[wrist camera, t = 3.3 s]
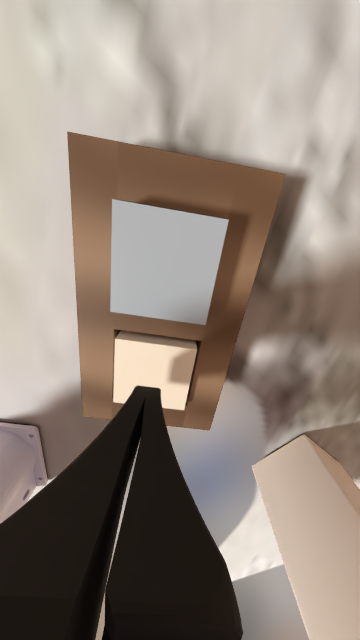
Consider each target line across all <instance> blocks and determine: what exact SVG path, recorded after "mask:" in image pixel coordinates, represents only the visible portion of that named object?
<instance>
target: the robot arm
mask: <svg viewBox="0 0 360 640" xmlns="http://www.w3.org/2000/svg"><path fill="white" fill-rule="evenodd" d="M140 437H141V439H140ZM139 441H140V445H139ZM138 445H139V449H138V454H137V458H136V462H135V467H134V471H133V476H132V480H131V485H130V489H129V493H128V498H127V502H126V506H125V510H124V515H123V519H122V523H121V528H120V532H119V536H118V540H117V544H116V548H115V553H114V557H113V561H112V565H111V569H110V573H109V568H110V563H111V558H112V553H113V548H114V543H115V538H116V533H117V528H118V524H119V519H120V514H121V509H122V505H123V500H124V495H125V491H126V487H127V483H128V480H129V476H130V473H131V469H132V466H133V462H134V458H135V455H136V452H137V448H138ZM47 482H48V480H47V474H46V469H45V463H44V458H43V452H42V447H41V441H40V435H39V430H38V428H37V427H35V426H30V425H20V424H10V423H1V422H0V640H95V638H96V632H97V628H98V623H99V618H100V613H101V607H102V602H103V597H104V593H105V626H104V631H103V636H102V640H241V638H242V635H243V630H242V625H241V618H240V613H239V609H238V604H237V600H236V596H235V592H234V589H233V585H232V582H231V578H230V575H229V572H228V569H227V565H226V562H225V560H224V558H223V556H222V554H221V553H220V551H219V549H218V547H217V545H216V543H215V542H214V540H213V538H212V536H211V534H210V532H209V530H208V528H207V526H206V525H205V523H204V520H203V519H202V517H201V514H200V513H199V510H198V508H197V506H196V504H195V502H194V500H193V497H192V495H191V493H190V491H189V488H188V486H187V484H186V482H185V480H184V477H183V475H182V472H181V470H180V467H179V465H178V462H177V459H176V457H175V454H174V451H173V448H172V445H171V442H170V438H169V435H168V431H167V427H166V423H165V419H164V415H163V409H162V403H161V389H160V388H155V387H146V386H138V385H137V386H136V387H135V388H134V390H133V391H132V393H131V395H130V396H129V398H128V399H127V401H126V402H125V403H124V405H123V406H122V407H121V409H120V410H119V411H118V413H117V414H116V415H115V417H114V418H113V419H112V420H111V421H110V423H109V424H108V425H107V426H106V427H105V429H104V430H103V431H102V432H101V433H100V434H99V435H98V437H97V438H96V439H95V440H94V441H93V442H92V443H91V444H90V445H89V446H88V447H87V448H86V449H85V450H84V451H83V452H82V453H81V454H80V455H79V456H78V457H77V458H76V459H75V460H74V461H73V462H72V463H71V464H70V465H69V466H68V467H67V468H66V469H65V470H64V471H62V472H61V473H60V474H59V475H58V476H57V477H56V478H55V479H54V480H52V481H51V482H50V483H49V484H48V485H47V486H45V485H46V484H47ZM36 486H45V487H44V488H43V489H42V490H41V491H40V492H38V493H37V494H36V495H35V496H34V497H33V498H31V499H30V500H29V501H28V499H29V497H30V496H31V494H32V493H33V491H34V489H35V488H36ZM27 501H28V502H27ZM26 502H27V503H26ZM108 573H109V578H108V582H107V577H108ZM106 583H107V585H106ZM105 588H106V589H105Z"/></svg>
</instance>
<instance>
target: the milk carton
mask: <svg viewBox="0 0 360 640" xmlns="http://www.w3.org/2000/svg"><path fill="white" fill-rule="evenodd" d="M252 469H253V472H254V475H255V478H256V481H257V484H258V487H259V490H260V493H261V496H262V499H263V502H264V505H265V508H266V511H267V514H268V517H269V520H270V523H271V526H272V529H273V532H274V535H275V538H276V541H277V544H278V547H279V550H280V553H281V556H282V559H283V562H284V565H285V568H286V571H287V574H288V578H289V580H290V584H291V586H292V590H293V593H294V596H295V599H296V602H297V604H298V607H299V610H300V614H301V617H302V620H303V622H304V625H305V629H306V632H307V635H308V638H309V640H360V489H359V488H358V487H357V485H356V484H355V483H354V481H353V480H352V479H351V477H350V476H349V475H348V473H347V472H346V471H345V469H344V468H343V467H342V465H341V464H340V463H339V462H337V461H336V460H335V459H334V458H333V457H331V456H330V455H329V454H328V453H326V452H325V451H324V450H323V449H322V448H320V447H319V446H318V445H317V444H316V443H314V442H313V441H312V440H311V439H310V438H308V437H307V436H306V435H301V436H300V437H298V438H296V439H295V440H293V441H291V442H290V443H288V444H287V445H285V446H283V447H282V448H280V449H278V450H277V451H275V452H274V453H272V454H270V455H269V456H267V457H265V458H264V459H262V460H261V461H259V462H257V463H256V464H254V465H253V466H252Z"/></svg>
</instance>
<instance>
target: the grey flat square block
mask: <svg viewBox="0 0 360 640" xmlns="http://www.w3.org/2000/svg"><path fill="white" fill-rule="evenodd" d="M228 221H229V220H228V219H222V218H217V217H211V216H205V215H200V214H194V213H188V212H183V211H177V210H171V209H166V208H160V207H154V206H149V205H143V204H137V203H132V202H126V201H120V200H115V199H112V236H111V302H110V312H116V313H123V314H130V315H137V316H144V317H151V318H158V319H165V320H172V321H179V322H186V323H193V324H201V325H206V321H207V316H208V312H209V307H210V303H211V298H212V294H213V289H214V285H215V280H216V276H217V271H218V267H219V262H220V257H221V253H222V248H223V244H224V239H225V235H226V230H227V226H228Z"/></svg>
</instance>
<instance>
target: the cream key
mask: <svg viewBox="0 0 360 640" xmlns="http://www.w3.org/2000/svg"><path fill="white" fill-rule="evenodd" d="M196 353H197V346H196V340H191V339H183V338H176V337H169V336H161V335H154V334H147V333H140V332H132V331H125V330H121V331H120V332H119V334H118V335H117V337H116V338H115V355H114V393H113V402H115V403H125V402H126V401H127V399H128V398H129V396H130V395H131V393H132V391H133V390H134V388H135V387H136V386H137V385H138V386H146V387H155V388H160V389H161V403H162V408H168V409H177V410H184V409H185V404H186V399H187V395H188V390H189V385H190V381H191V376H192V371H193V367H194V362H195V357H196Z"/></svg>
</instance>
